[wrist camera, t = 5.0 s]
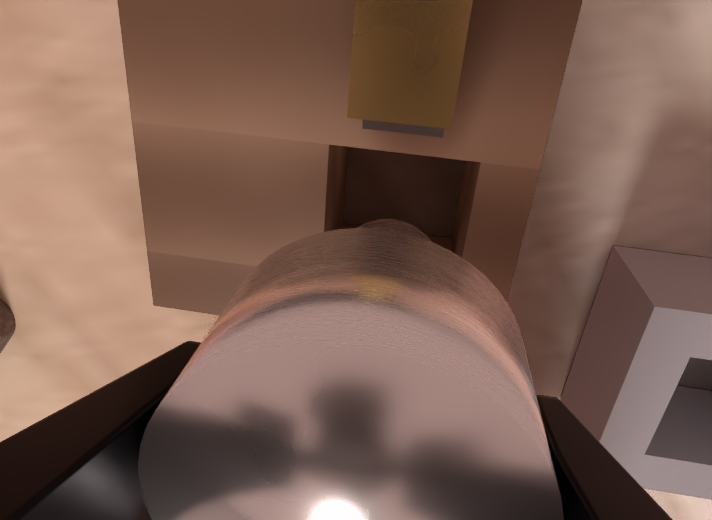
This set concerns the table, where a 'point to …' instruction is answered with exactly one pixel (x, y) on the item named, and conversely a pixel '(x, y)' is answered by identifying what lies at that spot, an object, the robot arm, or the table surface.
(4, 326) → the flask
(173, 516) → the steel pin
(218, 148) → the hitch block
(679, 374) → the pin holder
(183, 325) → the table surface
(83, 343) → the table surface
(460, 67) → the brass bolt
